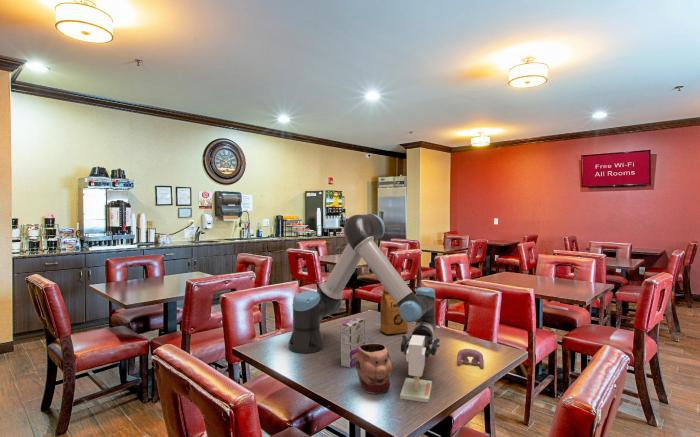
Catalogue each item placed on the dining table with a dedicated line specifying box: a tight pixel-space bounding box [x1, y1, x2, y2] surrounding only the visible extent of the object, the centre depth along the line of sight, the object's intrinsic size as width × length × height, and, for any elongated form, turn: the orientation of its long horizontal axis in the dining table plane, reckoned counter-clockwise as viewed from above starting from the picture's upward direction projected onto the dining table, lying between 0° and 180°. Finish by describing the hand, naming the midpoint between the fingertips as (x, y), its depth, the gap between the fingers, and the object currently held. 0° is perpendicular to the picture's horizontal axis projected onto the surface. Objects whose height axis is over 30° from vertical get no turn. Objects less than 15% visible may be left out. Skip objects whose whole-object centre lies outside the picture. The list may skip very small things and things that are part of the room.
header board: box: [399, 376, 433, 403], centre depth 130 cm, size 9×13×6 cm
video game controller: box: [456, 348, 485, 369], centre depth 152 cm, size 10×5×7 cm, turn 72°
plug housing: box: [408, 334, 426, 378], centre depth 129 cm, size 10×4×10 cm, turn 163°
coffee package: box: [379, 288, 409, 335], centre depth 190 cm, size 10×12×22 cm
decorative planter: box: [354, 342, 394, 395], centre depth 133 cm, size 20×12×14 cm, turn 23°
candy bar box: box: [340, 317, 366, 369], centre depth 153 cm, size 11×5×16 cm, turn 148°
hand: (414, 358), depth 124 cm, fingers closed on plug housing, 4 cm apart
